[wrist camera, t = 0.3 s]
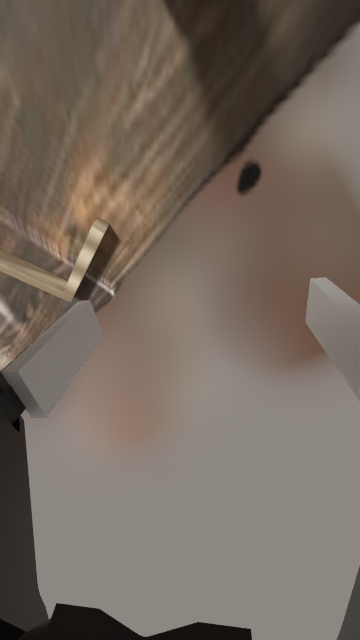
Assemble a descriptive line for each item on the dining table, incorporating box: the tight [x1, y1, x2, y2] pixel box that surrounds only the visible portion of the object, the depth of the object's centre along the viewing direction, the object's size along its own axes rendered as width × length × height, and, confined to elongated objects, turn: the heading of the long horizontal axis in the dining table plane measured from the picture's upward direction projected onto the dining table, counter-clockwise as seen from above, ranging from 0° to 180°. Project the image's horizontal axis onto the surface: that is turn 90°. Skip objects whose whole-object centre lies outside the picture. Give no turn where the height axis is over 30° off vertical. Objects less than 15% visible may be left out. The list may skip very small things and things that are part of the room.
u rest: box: [0, 217, 109, 302], centre depth 40 cm, size 19×21×3 cm
